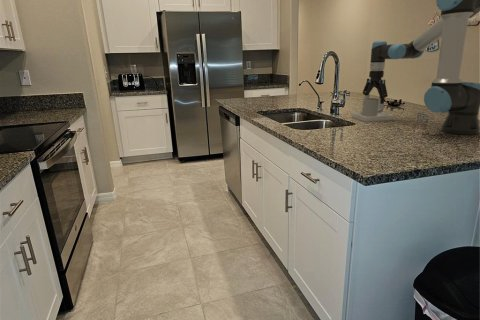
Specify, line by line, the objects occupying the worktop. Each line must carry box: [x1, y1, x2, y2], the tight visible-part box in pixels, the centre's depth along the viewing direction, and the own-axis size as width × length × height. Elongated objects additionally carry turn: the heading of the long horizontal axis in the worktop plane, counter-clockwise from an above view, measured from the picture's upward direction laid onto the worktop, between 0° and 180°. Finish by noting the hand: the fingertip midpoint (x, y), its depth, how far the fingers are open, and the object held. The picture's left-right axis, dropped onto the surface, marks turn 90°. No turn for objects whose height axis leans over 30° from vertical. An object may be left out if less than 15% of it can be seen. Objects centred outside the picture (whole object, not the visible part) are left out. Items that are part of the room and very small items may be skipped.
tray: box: [351, 111, 395, 123], centre depth 186 cm, size 18×16×3 cm
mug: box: [361, 97, 385, 117], centre depth 184 cm, size 12×8×11 cm
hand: (373, 107), depth 184 cm, fingers open, 13 cm apart
